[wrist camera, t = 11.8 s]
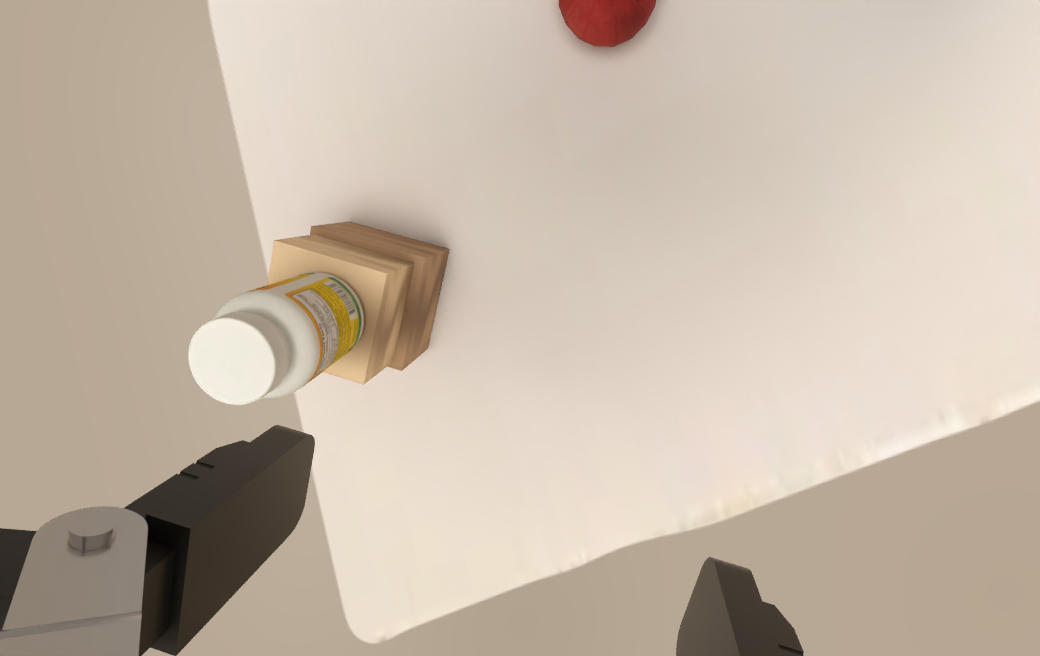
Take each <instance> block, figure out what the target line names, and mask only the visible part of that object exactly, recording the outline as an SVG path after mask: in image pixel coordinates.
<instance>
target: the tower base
mask: <svg viewBox="0 0 1040 656" xmlns="http://www.w3.org/2000/svg"><path fill="white" fill-rule="evenodd" d="M310 235H319V236H322V237H326V238H329V239H332V240H336V241H339V242H343V243H346V244H350V245H353V246H356V247H360V248H363V249H367V250H370V251H373V252H377V253H380V254H384V255H387V256H390V257H394V258H397V259H401V260H404V261H408V262H411V263H414V268H413V273H412V277H411V282H410V286H409V291H408V295H407V300H406V304H405V309H404V313H403V318H402V323H401V327H400V332H399V336H398V341H397V345H396V350H395V354H394V359H393V362H392V363H391V364H389V365H388V367H391V368H394V369H398V370H401V371H402V370H403V369H404V368H406V367H407V366H408V365H409V364H410V363H411V362H413V361H414V360H415V359H416V358H417V357H419V356H420V355H421V354H422V353H423V352H424V351H426V350H427V349H428V345H429V340H430V336H431V331H432V327H433V322H434V317H435V313H436V308H437V304H438V299H439V295H440V290H441V286H442V281H443V277H444V272H445V267H446V263H447V258H448V254H449V249H446V248H443V247H439V246H435V245H432V244H428V243H425V242H421V241H417V240H414V239H410V238H406V237H403V236H399V235H395V234H392V233H388V232H384V231H381V230H377V229H374V228H370V227H366V226H363V225H359V224H355V223H352V222H344V223H335V224H327V225H318V226H311V233H310Z"/></svg>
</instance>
